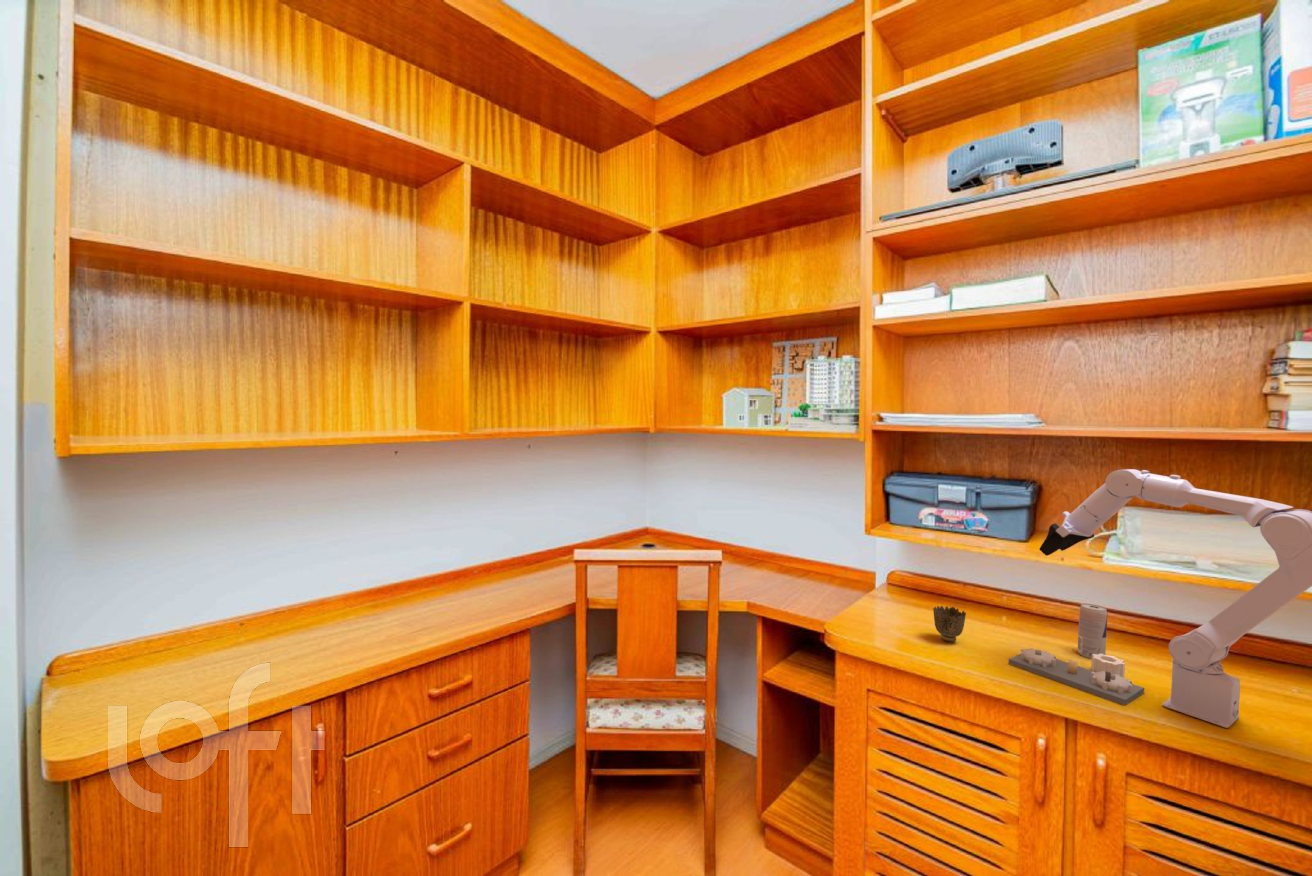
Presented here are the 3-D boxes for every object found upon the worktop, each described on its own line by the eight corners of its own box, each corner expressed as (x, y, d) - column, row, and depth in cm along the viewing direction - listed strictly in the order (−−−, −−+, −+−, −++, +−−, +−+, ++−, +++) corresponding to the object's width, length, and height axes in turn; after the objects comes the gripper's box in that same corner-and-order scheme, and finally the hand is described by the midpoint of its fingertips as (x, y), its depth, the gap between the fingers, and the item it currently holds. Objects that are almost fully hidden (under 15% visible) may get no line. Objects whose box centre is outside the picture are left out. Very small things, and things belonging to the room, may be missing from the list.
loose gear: (1128, 674, 127) (1129, 660, 127) (1118, 681, 124) (1118, 666, 123) (1097, 664, 132) (1098, 651, 132) (1086, 670, 129) (1087, 656, 128)
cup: (971, 645, 142) (972, 614, 141) (946, 647, 140) (947, 616, 140) (950, 634, 149) (951, 604, 149) (925, 636, 147) (927, 605, 147)
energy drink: (1106, 655, 137) (1109, 607, 136) (1103, 662, 133) (1105, 612, 133) (1079, 649, 141) (1082, 601, 140) (1075, 655, 137) (1077, 606, 137)
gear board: (1143, 693, 118) (1145, 672, 118) (1125, 705, 113) (1126, 683, 113) (1029, 654, 137) (1030, 636, 137) (1008, 663, 131) (1009, 644, 131)
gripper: (1092, 495, 133) (1051, 532, 140) (1064, 501, 125) (1021, 541, 133) (1121, 517, 128) (1076, 555, 136) (1093, 525, 121) (1047, 565, 128)
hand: (1051, 549), depth 134 cm, fingers open, 7 cm apart
